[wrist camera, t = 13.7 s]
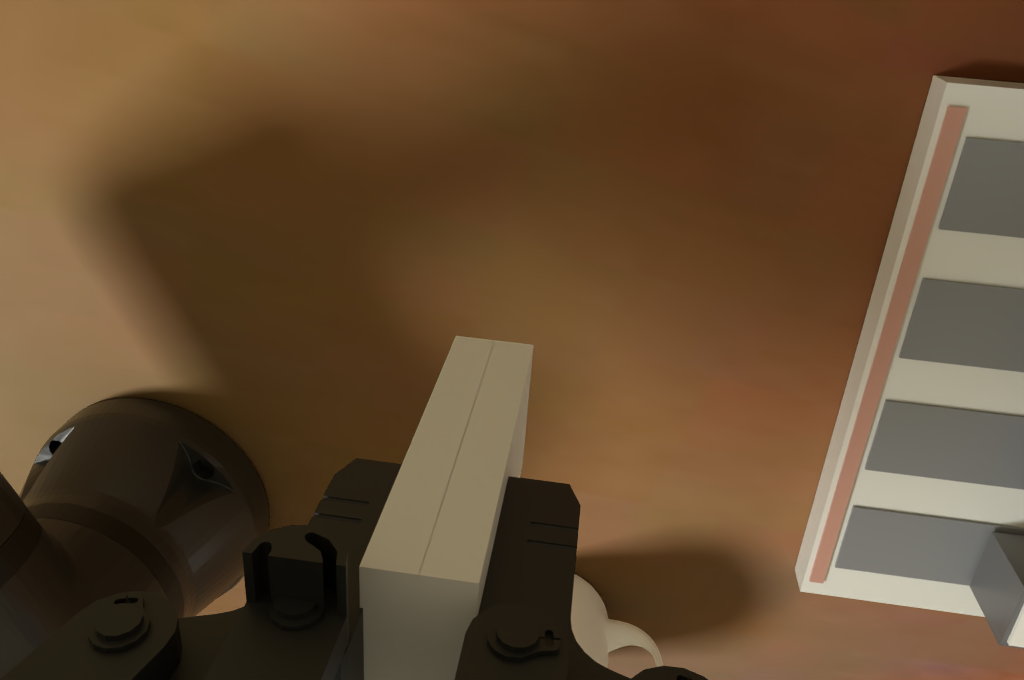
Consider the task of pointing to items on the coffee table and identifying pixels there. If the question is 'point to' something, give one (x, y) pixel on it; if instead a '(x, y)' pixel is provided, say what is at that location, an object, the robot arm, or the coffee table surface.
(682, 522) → the coffee table surface
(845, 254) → the coffee table surface
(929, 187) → the panel
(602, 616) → the mug
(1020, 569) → the block
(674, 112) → the coffee table surface
